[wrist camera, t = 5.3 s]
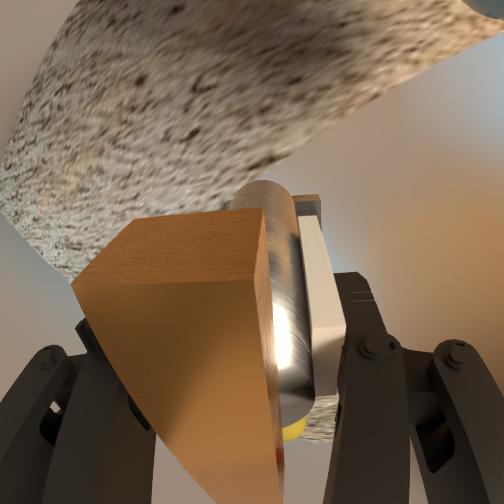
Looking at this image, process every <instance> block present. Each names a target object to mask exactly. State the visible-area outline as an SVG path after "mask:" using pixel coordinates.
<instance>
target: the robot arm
mask: <svg viewBox="0 0 504 504" xmlns="http://www.w3.org/2000/svg"><path fill="white" fill-rule="evenodd" d="M462 1H463V2H464V3H465V4H466V5H468V6H469V7H470V8H471V9H472V10H474V11H475V12H477V13H479V14H481V15H483V16H485V17H489V18H493V19H500V20H504V0H462ZM298 228H299V243H300V251H301V259H302V267H303V275H304V284H305V293H306V303H307V312H308V322H309V333H310V344H311V356H312V361H313V371H314V384H315V396H329V395H336V393H337V387H338V393H339V402H338V407H337V412H336V417H335V421H336V424H335V432H334V439H333V447H332V454H331V460H330V466H329V472H328V478H327V484H326V489H325V494H324V500H323V504H409V487H410V437H411V441H412V444H413V447H414V451H415V454H416V458H417V461H418V465H419V468H420V472H421V476H422V479H423V483H424V487H425V491H426V496H427V500H428V504H504V397H503V395H502V393H501V391H500V390H499V388H498V386H497V384H496V382H495V380H494V379H493V377H492V375H491V373H490V372H489V370H488V368H487V367H486V365H485V363H484V362H483V360H482V358H481V357H480V355H479V353H478V352H477V351H476V350H475V349H474V347H473V346H471V345H470V344H468V343H466V342H464V341H461V340H456V339H453V340H446V341H444V342H442V343H440V344H439V345H438V346H437V347H436V348H435V350H434V353H430V352H421V351H413V350H409V349H406V348H403V347H401V345H400V343H399V341H398V340H397V339H396V338H394V337H393V336H392V335H390V334H388V333H387V331H386V328H385V326H384V323H383V320H382V317H381V315H380V312H379V310H378V307H377V304H376V302H375V301H374V297H373V294H372V292H371V289H370V287H369V284H368V282H367V280H366V279H365V278H364V277H363V276H361V275H360V274H359V273H358V272H348V273H333V272H332V268H331V264H330V260H329V257H328V253H327V250H326V247H325V243H324V239H323V236H322V232H321V229H320V226H319V222H318V219H317V216H316V215H315V216H298ZM75 330H76V331H77V333H78V335H79V337H80V338H81V340H82V342H83V344H84V346H85V348H86V349H87V353H86V354H81V355H75V356H67V354H66V353H65V351H64V349H63V348H62V347H61V346H58V345H50V346H47V347H44V348H43V349H41V350H39V351H38V352H37V353H36V354H35V355H34V357H33V358H32V359H31V360H30V362H29V363H28V365H27V366H26V367H25V368H24V370H23V371H22V373H21V374H20V375H19V377H18V378H17V379H16V381H15V382H14V384H13V385H12V386H11V388H10V389H9V391H8V392H7V393H6V395H5V396H4V398H3V399H2V401H1V402H0V504H151V495H152V480H153V466H154V454H155V442H156V432H155V430H154V429H153V428H152V426H151V425H150V424H149V422H148V421H147V419H146V418H145V417H144V415H143V414H142V412H141V411H140V409H139V408H138V406H137V405H136V403H135V402H134V400H133V399H132V397H131V396H130V394H129V393H128V391H127V390H126V388H125V387H124V385H123V383H122V382H121V380H120V379H119V377H118V375H117V374H116V372H115V370H114V369H113V367H112V365H111V363H110V362H109V360H108V358H107V356H106V355H105V353H104V351H103V349H102V347H101V346H100V344H99V342H98V340H97V338H96V336H95V334H94V332H93V331H92V329H91V327H90V325H89V323H88V321H87V319H86V318H84V319H83V320H82V321H80V322H79V324H78V325H77V326H76V328H75ZM53 401H54V402H55V403H56V404H57V405H58V406H59V407H60V410H59V411H58V412H56V413H54V411H53V410H52V409H51V408H50V405H51V403H52V402H53Z"/></svg>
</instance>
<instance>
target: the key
mask: <svg viewBox="0 0 504 504" xmlns="http://www.w3.org/2000/svg"><path fill="white" fill-rule="evenodd" d="M71 286H72V288H73V291H74V293H75V295H76V297H77V300H78V302H79V304H80V306H81V308H82V310H83V312H84V314H85V316H86V319H87V321H88V323H89V325H90V327H91V329H92V331H93V332H94V334H95V336H96V338H97V340H98V342H99V344H100V346H101V347H102V349H103V351H104V353H105V355H106V356H107V358H108V360H109V362H110V363H111V365H112V367H113V369H114V370H115V372H116V374H117V375H118V377H119V379H120V380H121V382H122V383H123V385H124V387H125V388H126V390H127V391H128V393H129V394H130V396H131V397H132V399H133V400H134V402H135V403H136V405H137V406H138V408H139V409H140V411H141V412H142V414H143V415H144V417H145V418H146V419H147V421H148V422H149V424H150V425H151V426H152V428H153V429H154V430H155V432H156V433H157V434H158V436H159V437H160V438H161V440H162V441H163V442H164V443H165V445H166V446H167V447H168V448H169V450H170V451H171V452H172V454H173V455H174V456H175V457H176V459H177V460H178V461H179V462H180V463H181V465H182V466H183V467H184V468H185V469H186V470H187V471H188V473H189V474H190V475H191V476H192V477H193V478H194V480H195V481H196V482H197V483H198V484H199V485H200V486H201V487H202V488H203V489H204V490H205V491H206V493H207V494H208V495H209V496H210V497H212V499H213V500H214V501H215V502H216V503H217V504H283V494H284V493H283V492H284V468H285V467H284V466H285V463H284V448H283V433H282V428H285V427H288V426H290V425H292V424H294V423H296V422H298V421H299V420H301V419H302V418H304V417H305V416H306V415H307V414H308V413H309V411H310V410H311V409H312V407H313V405H314V402H315V384H314V371H313V361H312V356H311V344H310V333H309V322H308V312H307V303H306V293H305V284H304V275H303V267H302V259H301V251H300V243H299V232H298V225H297V218H296V211H295V204H294V201H293V199H292V197H291V195H290V194H289V192H288V191H287V190H286V189H285V188H284V187H282V186H281V185H279V184H277V183H275V182H272V181H268V180H257V181H253V182H250V183H248V184H246V185H244V186H243V187H242V188H240V189H239V190H238V192H237V193H236V194H235V196H234V198H233V200H232V203H231V205H230V207H229V209H228V210H221V211H210V212H199V213H188V214H178V215H168V216H158V217H149V218H140V219H134V220H133V221H131V222H130V223H129V224H128V225H127V226H126V227H125V228H124V229H123V230H122V231H121V232H120V233H119V234H118V235H117V236H116V237H115V238H114V239H113V240H112V241H111V242H110V243H109V244H108V245H107V246H106V247H105V248H104V249H103V250H102V251H101V252H100V253H99V254H98V255H97V256H96V257H95V258H94V259H93V260H92V261H91V262H90V263H89V265H88V266H87V267H86V268H85V269H84V270H83V271H82V272H81V273H80V274H79V275H78V276H77V277H76V278H75V280H74V281H73V282H72V283H71Z"/></svg>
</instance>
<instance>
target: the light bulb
mask: <svg viewBox="0 0 504 504" xmlns="http://www.w3.org/2000/svg"><path fill="white" fill-rule="evenodd" d="M305 425H306V418H305V417H304V418H302V419H301V420H299V421H298V422H296V423H294V424H292V425H290V426H288V427H285V428H282V433H283V441H291V440H294V439H296V438H297V437H299V436H300V435H301V434H302V433H303V431H304V429H305Z"/></svg>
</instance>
